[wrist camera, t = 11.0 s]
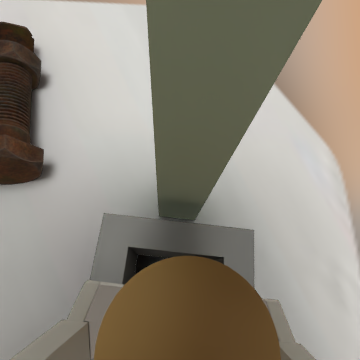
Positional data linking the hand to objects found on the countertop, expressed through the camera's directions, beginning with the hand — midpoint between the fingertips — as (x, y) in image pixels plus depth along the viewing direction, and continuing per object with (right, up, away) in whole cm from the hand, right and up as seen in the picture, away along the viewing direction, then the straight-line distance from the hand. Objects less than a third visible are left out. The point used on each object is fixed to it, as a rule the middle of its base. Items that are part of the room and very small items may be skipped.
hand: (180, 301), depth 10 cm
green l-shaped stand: (-1, -1, +11) cm, 11 cm away
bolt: (-15, +11, +15) cm, 24 cm away
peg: (0, -2, +4) cm, 5 cm away
